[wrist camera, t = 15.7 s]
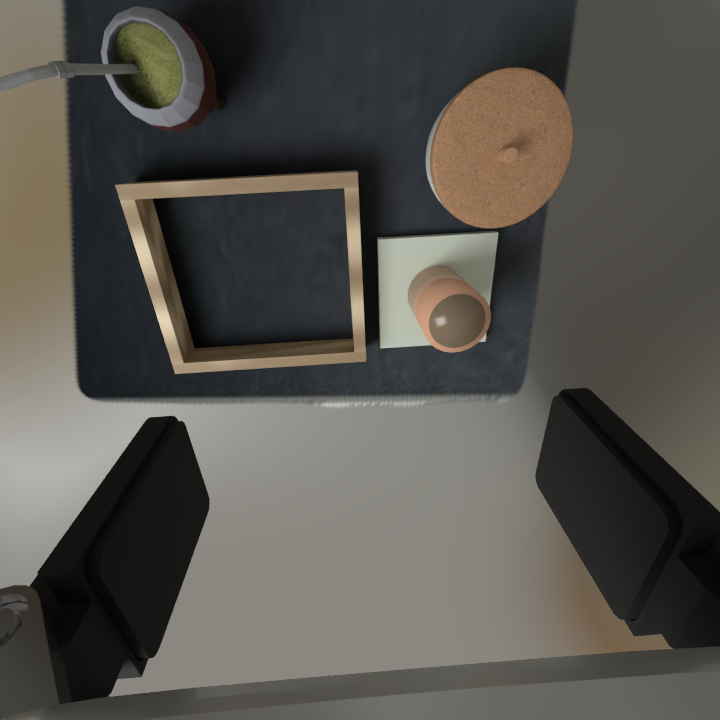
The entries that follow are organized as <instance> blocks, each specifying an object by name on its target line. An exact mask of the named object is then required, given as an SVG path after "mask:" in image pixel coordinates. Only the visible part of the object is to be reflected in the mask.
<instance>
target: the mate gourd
mask: <svg viewBox="0 0 720 720" xmlns="http://www.w3.org/2000/svg"><path fill="white" fill-rule="evenodd" d="M101 55H102V61H103V64H70V63H68V62H67V61H52V62H49V65H43V66H39V67H34V68H30V69H26V70H23V71H20V72H16V73H13V74H10V75H7V76H3V77H1V78H0V92H1V91H4V90H7V89H10V88H13V87H17V86H20V85H23V84H26V83H29V82H32V81H36V80H39V79H44V78H48V77H53V76H54V77H55V78H57V79H59V78H71V77H74V75H105V76H106V78H107V80H108V82H109V84H110V86H111V88H112V90H113V92H114V94H115V96H116V98H117V99H118V100H119V101H120V102H121V103H122V104H123V105H124V106H125V107H126V108H127V109H128V110H129V111H130V112H131V113H132V114H133V115H134V116H136V117H137V118H139V119H140V120H142V121H144V122H146V123H148V124H150V125H152V126H153V127H155V128H157V129H160V130H168V131H177V132H181V131H184V130H187V129H189V128H192V127H194V126H197V125H199V124H200V123H201V122H202V121H203V120H204V119H205V118H206V117H207V115H209V114H210V112H211V111H212V110H213V108H214V107H215V108H217V109H220V110H221V109H223V105H224V101H223V100H222V99H220V98H219V97H217V90H216V81H215V71H214V68H213V66H212V63H211V61H210V58H209V55H208V53H207V50H206V48H205V47H204V46H203V44H202V43H201V42H200V41H199V39H198V38H197V37H196V36H195V34H194V33H193V32H192V31H191V29H190V28H189V27H188V26H187V25H186V24H184V23H182V22H181V21H179V20H177V19H176V18H174V17H173V16H171V15H169V14H168V13H166V12H164V11H162V10H157V9H151V8H143V7H136V6H135V7H133V8H130V9H128V10H125V11H123V12H121V13H118V14H116V16H115V17H114V18H113V20H112V21H111V23H110V24H109V25H108V27H107V28H106V29H105V33H104V38H103V44H102V49H101Z"/></svg>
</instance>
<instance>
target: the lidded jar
mask: <svg viewBox="0 0 720 720" xmlns="http://www.w3.org/2000/svg"><path fill="white" fill-rule="evenodd" d="M572 145H573V121H572V117H571V111H570V109H569V106H568V103H567V101H566V99H565V97H564V95H563V94H562V92H561V90H560V89H559V88H558V87H557V86H556V85H555V83H554V82H553V81H551V80H550V79H549V78H547V77H546V76H545V75H543V74H541V73H539V72H537V71H535V70H531V69H527V68H523V67H509V68H503V69H498V70H495V71H492V72H489V73H487V74H485V75H483V76H481V77H479V78H478V79H476V80H474V81H472V82H471V83H470V84H469V85H467V86H466V87H465V88H463V89H462V90H461V91H460V92H459V93H458V94H456V95H455V96H454V97H453V98H452V99H451V100H450V101H449V103H448V104H447V105H446V106H445V107H444V109H443V110H442V112H441V113H440V114H439V116H438V118H437V120H436V121H435V123H434V125H433V127H432V130H431V133H430V136H429V139H428V144H427V148H426V171H427V176H428V180H429V183H430V186H431V188H432V190H433V192H434V194H435V195H436V197H437V199H438V200H439V201H440V202H441V204H442V205H443V206H444V207H445V208H446V209H447V210H448V211H449V212H450V213H451V214H453V215H454V216H455V217H456V218H458V219H460V220H461V221H463V222H465V223H467V224H470V225H472V226H475V227H480V228H501V227H506V226H509V225H512V224H515V223H517V222H519V221H522V220H524V219H526V218H527V217H528V216H530V215H531V214H533V213H534V212H536V211H537V210H538V209H539V208H540V207H541V206H543V205H544V204H545V202H546V201H547V200H548V199H549V198H550V197H551V196H552V194H553V193H554V191H555V190H556V188H557V187H558V185H559V184H560V182H561V180H562V178H563V176H564V174H565V172H566V169H567V167H568V164H569V161H570V157H571V152H572V147H573V146H572Z"/></svg>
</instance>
